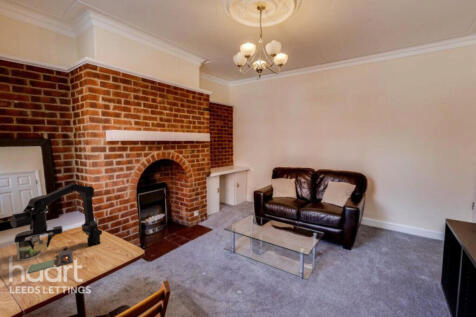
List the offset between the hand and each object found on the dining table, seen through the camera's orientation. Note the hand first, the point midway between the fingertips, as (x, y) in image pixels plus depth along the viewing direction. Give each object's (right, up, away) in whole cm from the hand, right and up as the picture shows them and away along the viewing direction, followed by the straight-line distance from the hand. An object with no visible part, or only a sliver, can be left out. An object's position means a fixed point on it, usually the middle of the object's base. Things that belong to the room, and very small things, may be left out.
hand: (41, 248), depth 117 cm
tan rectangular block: (0, +1, 0) cm, 1 cm away
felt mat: (0, -10, +1) cm, 10 cm away
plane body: (+7, -9, +9) cm, 14 cm away
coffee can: (-17, -9, +11) cm, 23 cm away
